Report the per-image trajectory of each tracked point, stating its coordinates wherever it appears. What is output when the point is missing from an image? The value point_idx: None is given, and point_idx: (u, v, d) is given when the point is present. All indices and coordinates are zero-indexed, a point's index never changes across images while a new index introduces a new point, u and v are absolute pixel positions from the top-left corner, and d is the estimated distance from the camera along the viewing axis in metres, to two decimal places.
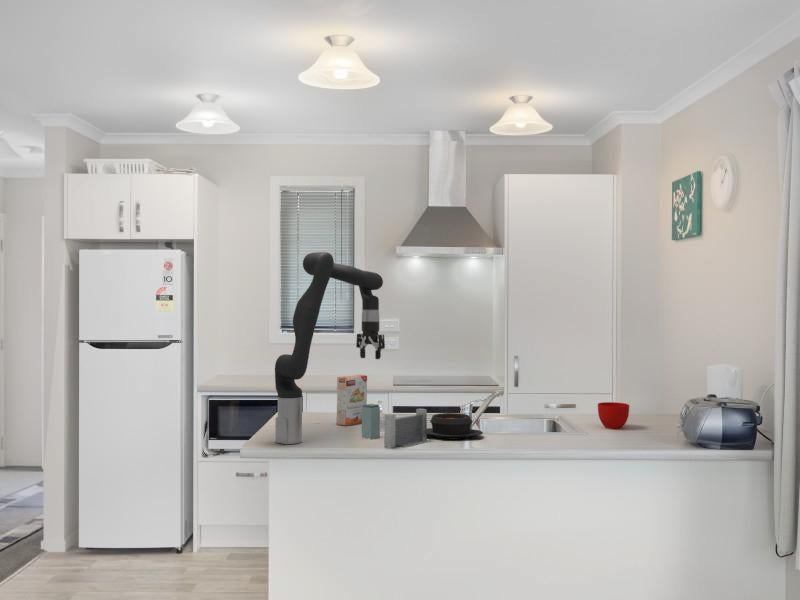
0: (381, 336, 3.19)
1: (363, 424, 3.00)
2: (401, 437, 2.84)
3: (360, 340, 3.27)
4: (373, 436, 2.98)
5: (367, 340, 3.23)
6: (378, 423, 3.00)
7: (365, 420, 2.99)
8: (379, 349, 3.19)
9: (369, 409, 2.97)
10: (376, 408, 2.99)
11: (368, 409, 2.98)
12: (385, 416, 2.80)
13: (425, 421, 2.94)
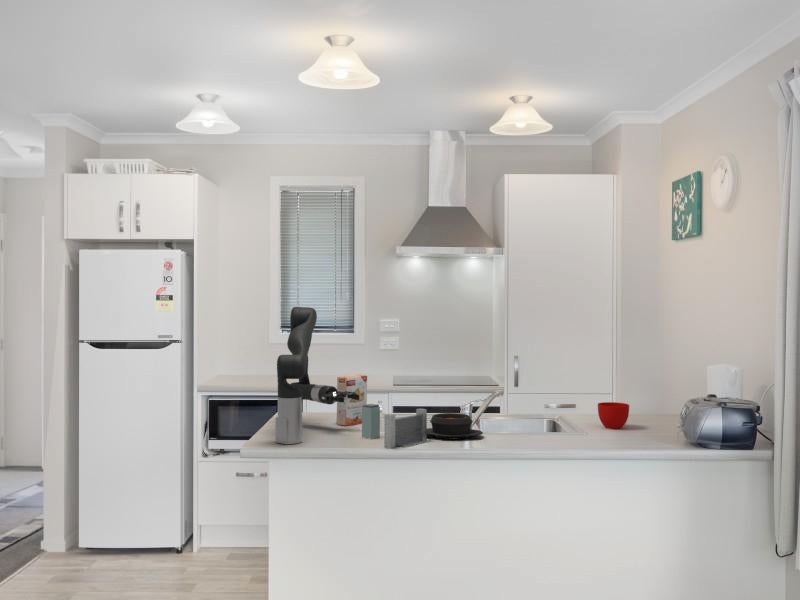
0: None
1: (363, 424, 3.00)
2: (401, 437, 2.84)
3: None
4: (373, 436, 2.98)
5: (337, 394, 3.12)
6: (378, 423, 3.00)
7: (365, 420, 2.99)
8: (354, 394, 3.15)
9: (369, 409, 2.97)
10: (376, 408, 2.99)
11: (368, 409, 2.98)
12: (385, 416, 2.80)
13: (425, 421, 2.94)
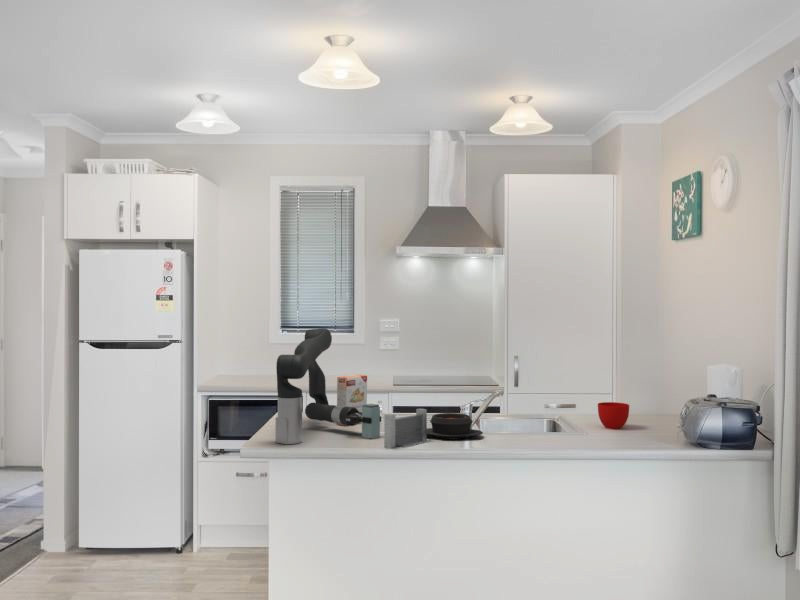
0: None
1: (363, 424, 3.00)
2: (401, 437, 2.84)
3: None
4: (373, 436, 2.98)
5: None
6: (378, 423, 3.00)
7: None
8: None
9: (369, 409, 2.97)
10: (376, 408, 2.99)
11: (368, 409, 2.98)
12: (385, 416, 2.80)
13: (425, 421, 2.94)
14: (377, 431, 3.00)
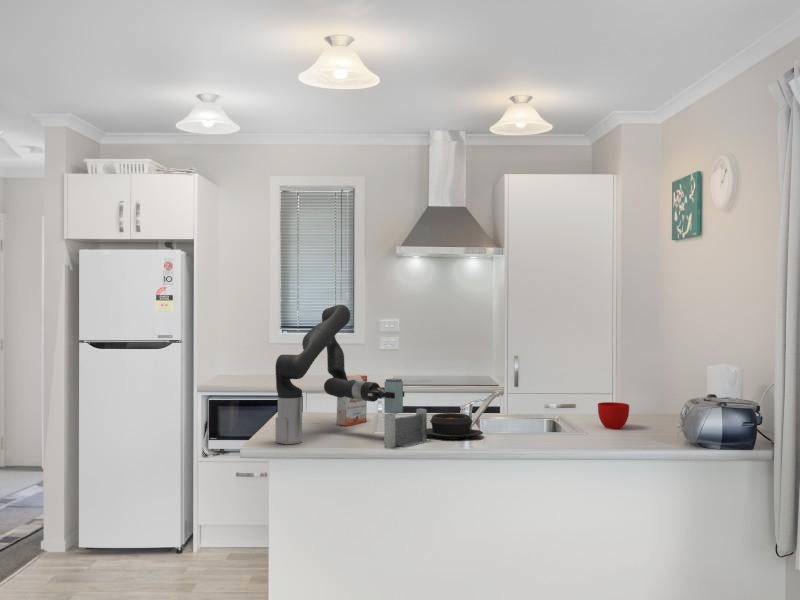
0: None
1: (386, 399, 2.91)
2: (401, 437, 2.84)
3: None
4: (396, 411, 2.90)
5: None
6: (401, 398, 2.92)
7: None
8: None
9: (392, 383, 2.89)
10: (399, 382, 2.91)
11: (391, 383, 2.89)
12: (385, 416, 2.80)
13: (425, 421, 2.94)
14: (400, 406, 2.91)
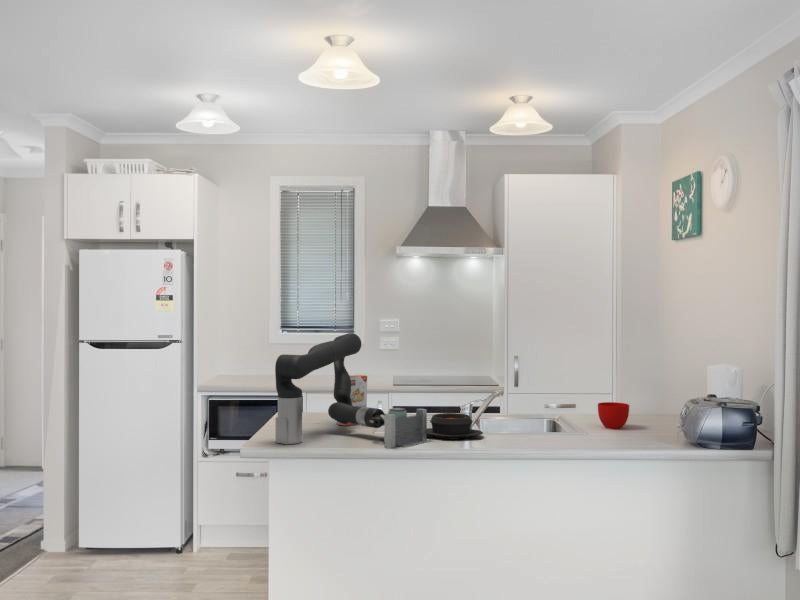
0: None
1: None
2: (401, 437, 2.84)
3: None
4: None
5: None
6: None
7: None
8: None
9: (396, 413, 2.87)
10: (403, 412, 2.89)
11: (395, 413, 2.87)
12: (385, 416, 2.80)
13: (425, 421, 2.94)
14: None
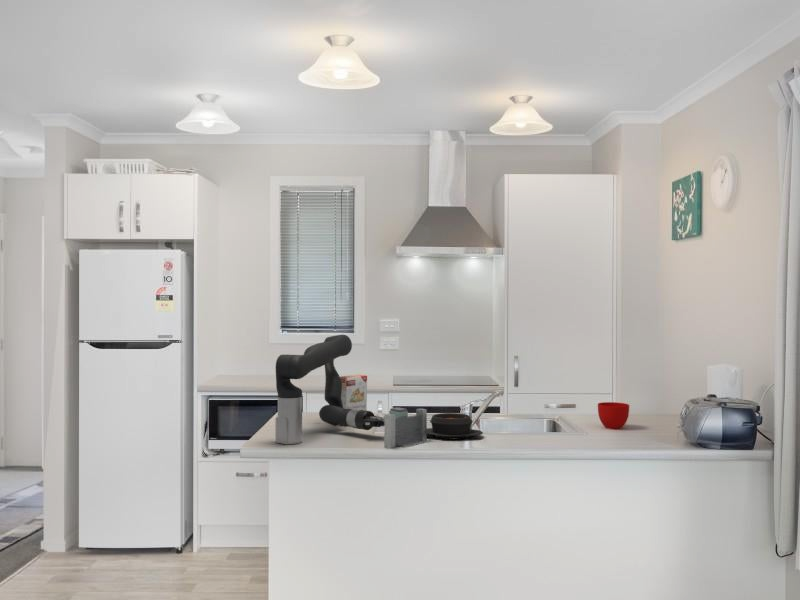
0: None
1: None
2: (401, 437, 2.84)
3: None
4: None
5: None
6: None
7: None
8: None
9: (397, 413, 2.87)
10: (404, 412, 2.88)
11: (396, 413, 2.87)
12: (385, 416, 2.80)
13: (425, 421, 2.94)
14: None
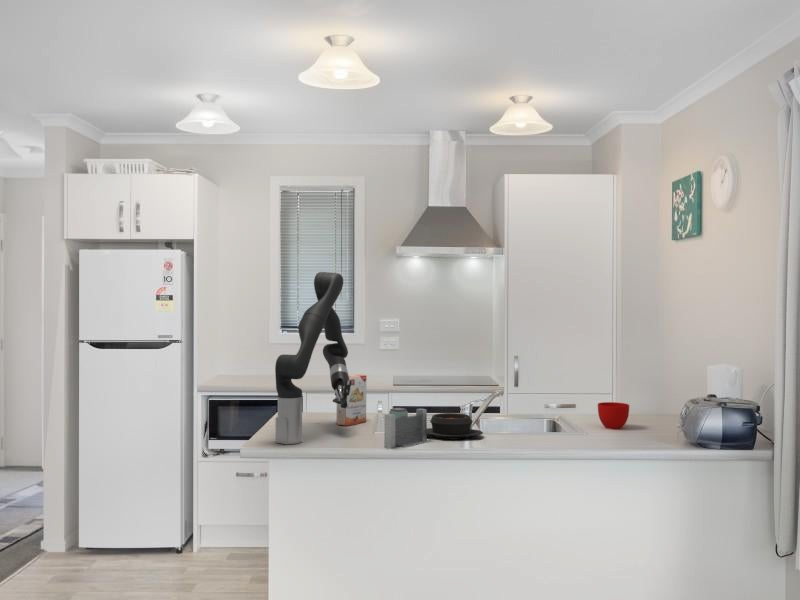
0: (347, 381, 3.03)
1: None
2: (401, 437, 2.84)
3: (338, 400, 3.07)
4: None
5: (339, 389, 3.07)
6: None
7: None
8: (343, 395, 3.02)
9: (397, 413, 2.87)
10: (404, 412, 2.88)
11: (396, 413, 2.87)
12: (385, 416, 2.80)
13: (425, 421, 2.94)
14: None
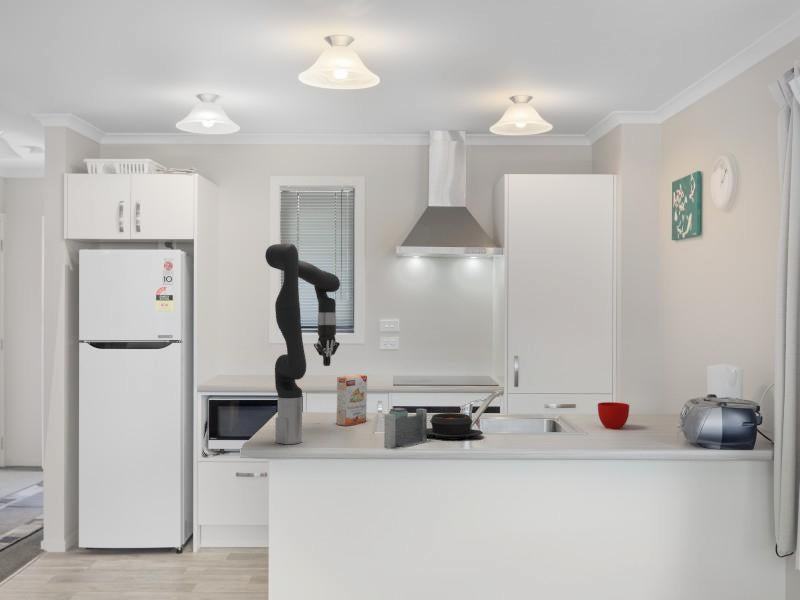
0: (315, 346, 3.08)
1: None
2: (401, 437, 2.84)
3: (333, 347, 3.15)
4: None
5: None
6: None
7: None
8: (322, 355, 3.11)
9: (397, 413, 2.87)
10: (404, 412, 2.88)
11: (396, 413, 2.87)
12: (385, 416, 2.80)
13: (425, 421, 2.94)
14: None
